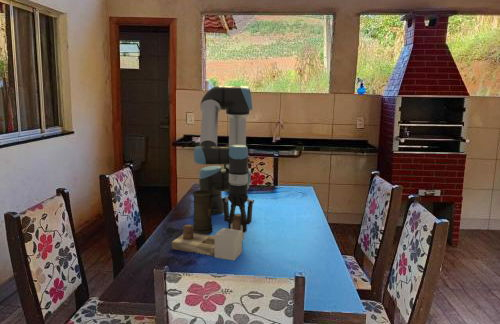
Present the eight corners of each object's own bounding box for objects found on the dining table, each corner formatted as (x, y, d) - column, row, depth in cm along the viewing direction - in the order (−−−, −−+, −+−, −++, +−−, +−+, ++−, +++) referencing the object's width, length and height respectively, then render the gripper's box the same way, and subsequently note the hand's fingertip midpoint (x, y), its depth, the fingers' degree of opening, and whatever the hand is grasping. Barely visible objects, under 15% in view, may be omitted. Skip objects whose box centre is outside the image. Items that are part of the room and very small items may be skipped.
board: (186, 238, 166) (186, 220, 165) (225, 244, 160) (225, 226, 159) (172, 248, 155) (171, 229, 154) (213, 255, 149) (213, 236, 148)
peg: (234, 241, 164) (234, 213, 162) (243, 242, 163) (243, 214, 161) (230, 244, 160) (231, 216, 158) (240, 245, 159) (240, 217, 157)
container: (194, 235, 170) (193, 195, 167) (191, 228, 179) (191, 190, 176) (214, 233, 173) (214, 194, 169) (210, 226, 181) (210, 189, 178)
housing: (223, 249, 155) (223, 227, 154) (241, 252, 153) (242, 230, 151) (214, 257, 148) (214, 234, 146) (234, 260, 145) (234, 237, 144)
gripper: (215, 183, 156) (215, 239, 161) (254, 187, 151) (253, 244, 155) (222, 179, 163) (222, 233, 168) (260, 183, 158) (259, 238, 162)
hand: (237, 238), depth 161 cm, fingers closed on peg, 4 cm apart
